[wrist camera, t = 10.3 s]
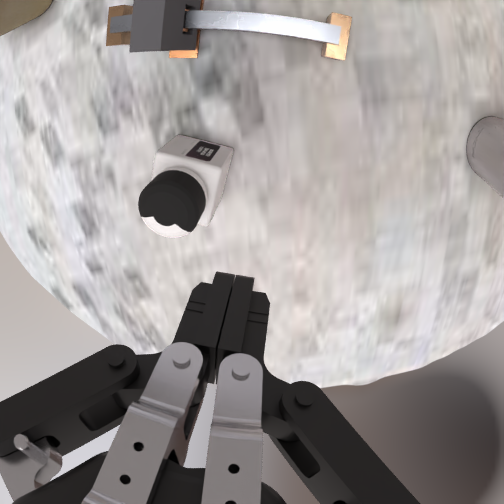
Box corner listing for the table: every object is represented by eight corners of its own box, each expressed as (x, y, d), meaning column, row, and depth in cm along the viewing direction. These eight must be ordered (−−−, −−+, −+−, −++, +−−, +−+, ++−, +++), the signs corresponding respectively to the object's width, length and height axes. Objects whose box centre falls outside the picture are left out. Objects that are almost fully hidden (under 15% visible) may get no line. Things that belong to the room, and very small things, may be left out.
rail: (346, 7, 26) (356, -2, 21) (335, 75, 31) (343, 79, 26) (130, -4, 27) (105, -9, 22) (125, 59, 32) (99, 62, 27)
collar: (201, -5, 26) (168, -22, 17) (195, 50, 30) (160, 50, 21) (176, -4, 26) (136, -18, 17) (170, 50, 30) (129, 52, 22)
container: (177, 133, 38) (132, 169, 27) (234, 147, 38) (210, 190, 28) (168, 185, 42) (128, 235, 32) (221, 199, 43) (196, 255, 32)
